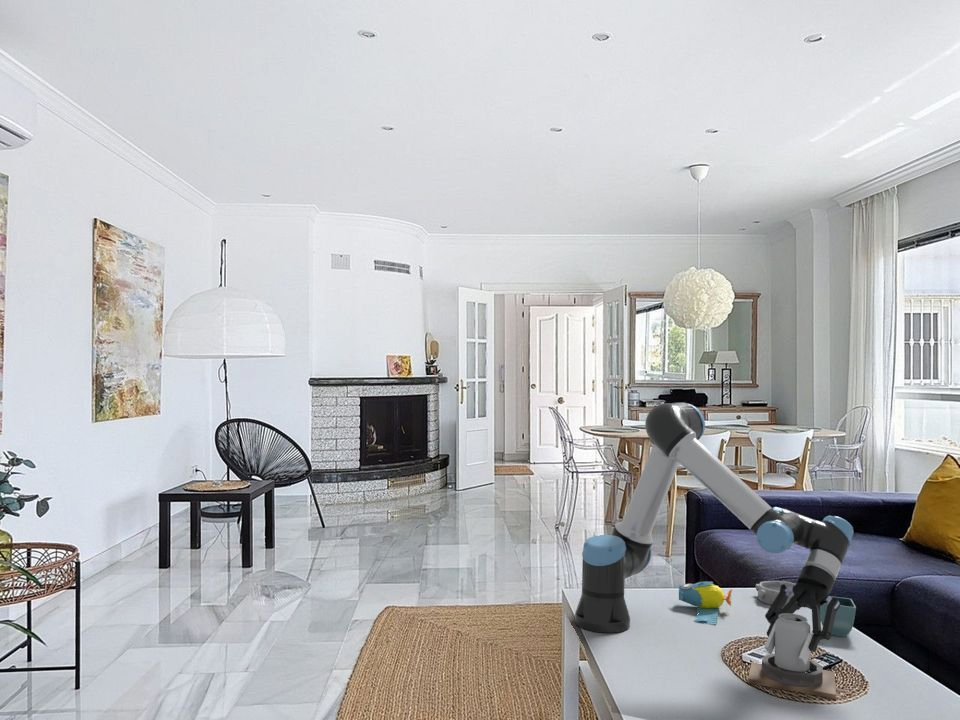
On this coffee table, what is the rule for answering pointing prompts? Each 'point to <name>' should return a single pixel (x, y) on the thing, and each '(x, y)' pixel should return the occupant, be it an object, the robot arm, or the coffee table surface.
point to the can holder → (793, 678)
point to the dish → (771, 590)
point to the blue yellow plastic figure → (704, 600)
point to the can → (790, 642)
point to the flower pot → (841, 616)
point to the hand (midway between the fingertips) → (784, 655)
